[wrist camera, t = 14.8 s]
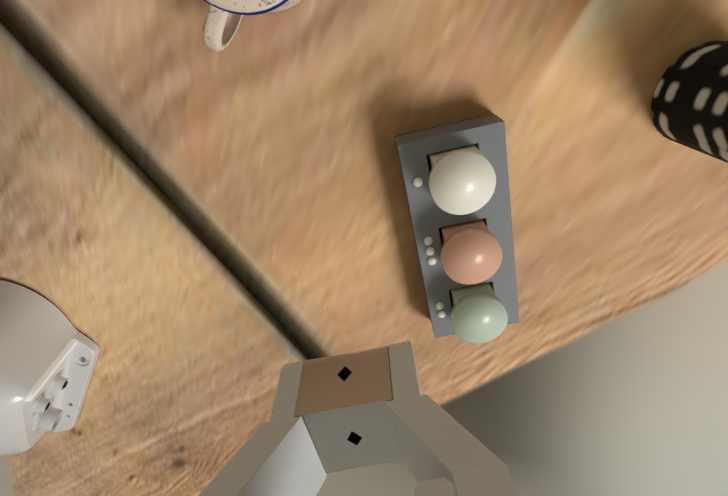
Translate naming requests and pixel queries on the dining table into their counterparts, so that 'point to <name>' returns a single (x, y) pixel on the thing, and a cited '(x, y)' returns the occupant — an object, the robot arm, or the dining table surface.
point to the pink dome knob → (469, 252)
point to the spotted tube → (695, 100)
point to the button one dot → (461, 179)
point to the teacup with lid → (234, 18)
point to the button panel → (430, 216)
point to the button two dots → (477, 313)
